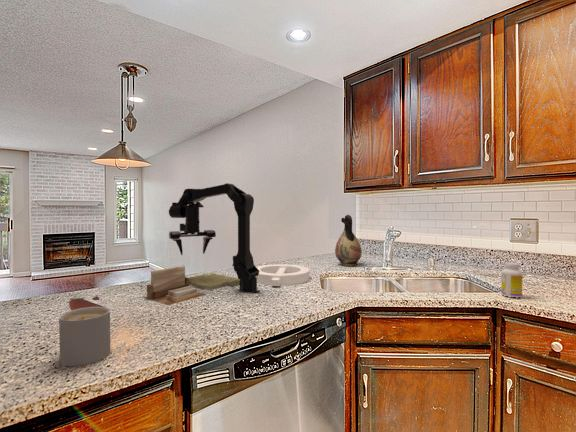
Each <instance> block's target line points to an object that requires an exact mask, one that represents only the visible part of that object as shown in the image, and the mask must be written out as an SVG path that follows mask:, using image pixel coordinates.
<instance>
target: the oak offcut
mask: <svg viewBox="0 0 576 432" xmlns="http://www.w3.org/2000/svg"><path fill="white" fill-rule="evenodd" d="M197 296H199V291H197V292H196V293H192V294H189V295H185V296H181V297H173V296H169V295H166V300H169V301H173V302H178V303H181V302H180V301H182V302H184V301H183V300H185V301H188V300H187V299H189V300H191V299H190V298H192V299H195V298H194V297H196V298H198V297H197ZM199 297H200V296H199Z"/></svg>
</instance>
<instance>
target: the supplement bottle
mask: <svg viewBox="0 0 576 432" xmlns="http://www.w3.org/2000/svg"><path fill="white" fill-rule="evenodd" d="M504 267H505V268H504V269H502V270H501V287H500V288H501V291H500V293H501V296H503V295H505V296H510V297H521V298H522V297H523V272H522V270H520V269H519V268H520V263H516V262H504ZM505 296H504V297H505Z"/></svg>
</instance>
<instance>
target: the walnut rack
mask: <svg viewBox="0 0 576 432" xmlns="http://www.w3.org/2000/svg"><path fill="white" fill-rule="evenodd" d="M187 286H189V287H190V284H189V277H187V276H185V285H181V286H177V287H173V288H168V289H164V290H160V291H156V292H154V299H153V285H151V284H146V296H143V297H142V299H145V300H149V301H153V302H156V303H159V304H163V305H166V306H171V305H174V304H177V303H181V302H184V301H185V302H186V301H189V300H191V299H195V298H199V297H203V296H206V295H207V293H204V292H199V291H198V292H199V296H197V297H194V298H190V299H187V300H183V301H180V302H173V301H169V300H166V295H168V291H171V290H175V289H179V288H183V287H187Z"/></svg>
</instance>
